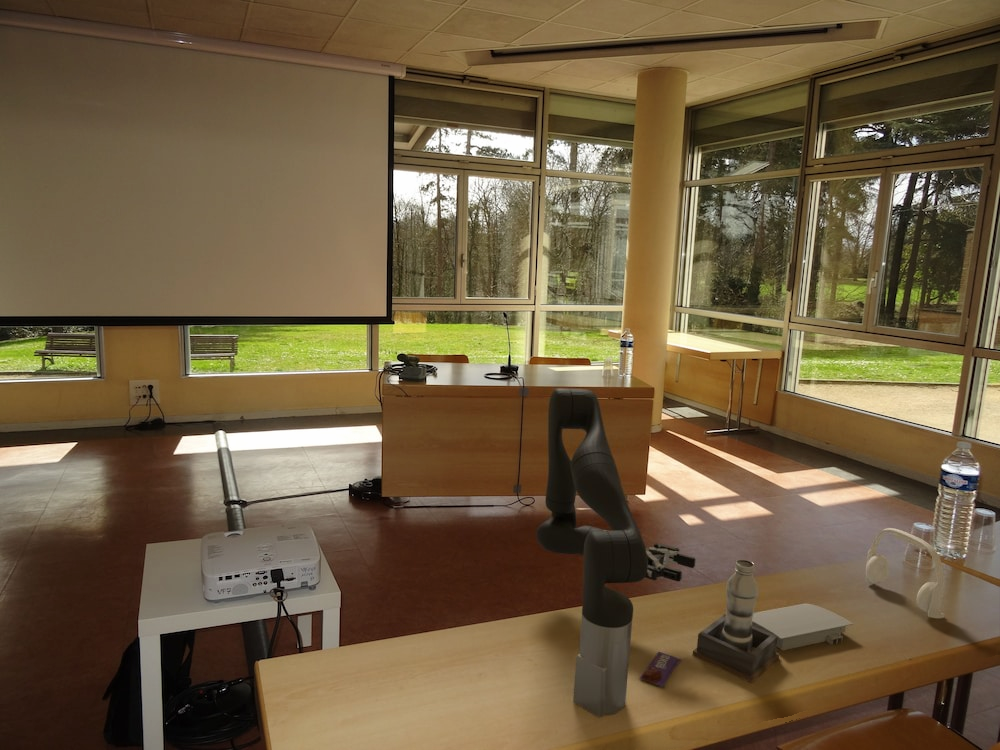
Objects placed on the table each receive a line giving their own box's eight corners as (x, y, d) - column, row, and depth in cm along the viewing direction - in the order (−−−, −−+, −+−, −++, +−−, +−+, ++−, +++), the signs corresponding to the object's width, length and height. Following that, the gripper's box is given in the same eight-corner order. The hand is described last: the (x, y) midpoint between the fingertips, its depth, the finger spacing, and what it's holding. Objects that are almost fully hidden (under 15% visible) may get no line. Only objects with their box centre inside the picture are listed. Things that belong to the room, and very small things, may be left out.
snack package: (658, 647, 148) (682, 655, 145) (658, 655, 148) (681, 663, 145) (639, 673, 138) (663, 682, 135) (638, 682, 138) (662, 691, 136)
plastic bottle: (754, 649, 149) (764, 561, 145) (747, 664, 143) (758, 573, 139) (723, 639, 152) (733, 553, 148) (715, 654, 146) (725, 565, 143)
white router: (861, 642, 156) (864, 626, 155) (780, 660, 148) (782, 643, 147) (809, 608, 170) (811, 594, 169) (732, 623, 162) (733, 607, 161)
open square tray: (751, 683, 139) (754, 660, 138) (692, 655, 147) (694, 633, 147) (778, 657, 148) (781, 636, 147) (721, 632, 157) (723, 612, 156)
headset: (856, 584, 183) (866, 520, 180) (877, 581, 186) (887, 517, 183) (925, 623, 165) (936, 552, 162) (947, 619, 167) (959, 549, 164)
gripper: (606, 544, 153) (678, 564, 144) (632, 525, 165) (700, 543, 156) (604, 576, 154) (675, 598, 146) (630, 555, 166) (697, 574, 157)
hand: (688, 569), depth 151 cm, fingers open, 8 cm apart
